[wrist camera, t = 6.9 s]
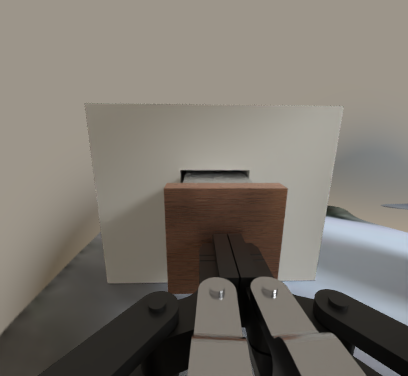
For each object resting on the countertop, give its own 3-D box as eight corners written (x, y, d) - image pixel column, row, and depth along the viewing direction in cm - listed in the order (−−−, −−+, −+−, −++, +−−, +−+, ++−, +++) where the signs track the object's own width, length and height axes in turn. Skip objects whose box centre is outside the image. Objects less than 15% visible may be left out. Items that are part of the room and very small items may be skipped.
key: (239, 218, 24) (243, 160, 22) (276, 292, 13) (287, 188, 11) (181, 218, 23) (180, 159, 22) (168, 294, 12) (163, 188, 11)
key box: (283, 239, 29) (297, 114, 24) (314, 280, 21) (343, 106, 17) (132, 241, 28) (121, 112, 24) (107, 283, 20) (84, 103, 16)
